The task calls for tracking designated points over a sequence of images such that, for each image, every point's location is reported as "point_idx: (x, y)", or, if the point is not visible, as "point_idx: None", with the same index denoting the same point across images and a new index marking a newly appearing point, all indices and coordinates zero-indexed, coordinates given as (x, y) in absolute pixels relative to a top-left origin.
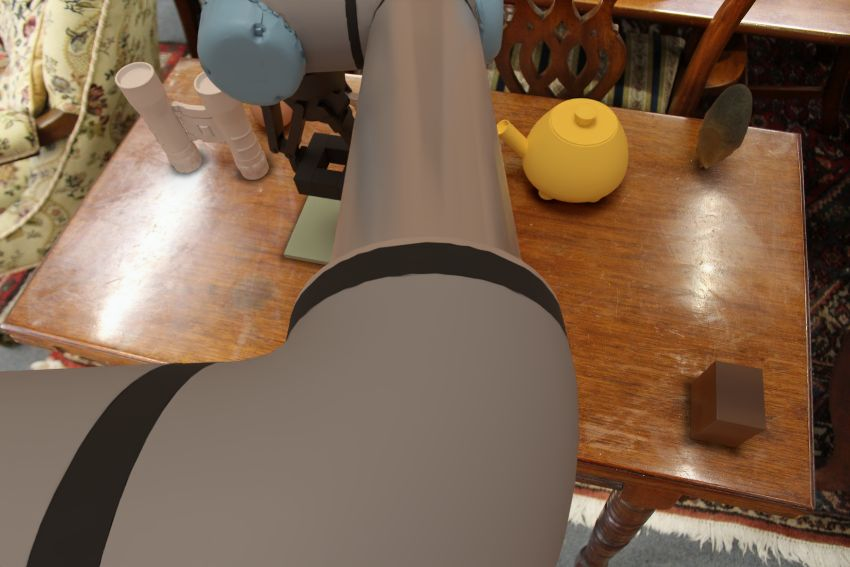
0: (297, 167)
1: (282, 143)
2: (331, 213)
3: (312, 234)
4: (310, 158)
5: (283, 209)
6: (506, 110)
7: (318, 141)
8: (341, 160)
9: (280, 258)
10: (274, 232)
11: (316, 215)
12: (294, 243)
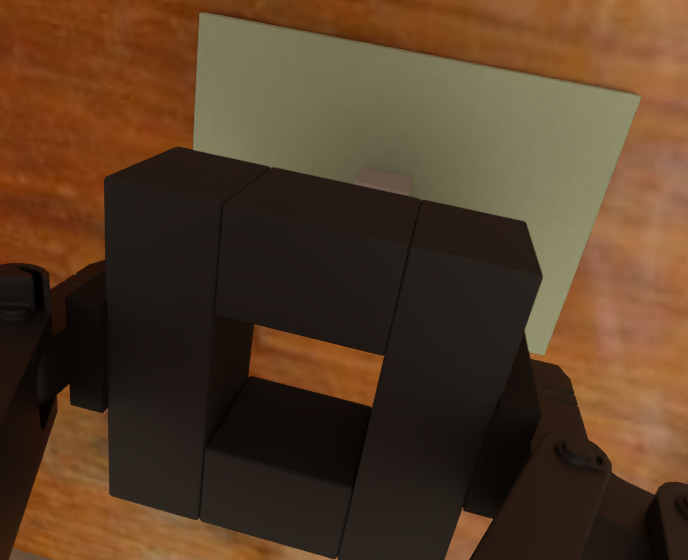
0: (527, 379)
1: (625, 557)
2: None
3: (528, 184)
4: (433, 426)
5: (642, 298)
6: (57, 536)
7: (398, 530)
8: (297, 409)
9: (654, 90)
10: (677, 206)
11: None
12: (596, 145)
